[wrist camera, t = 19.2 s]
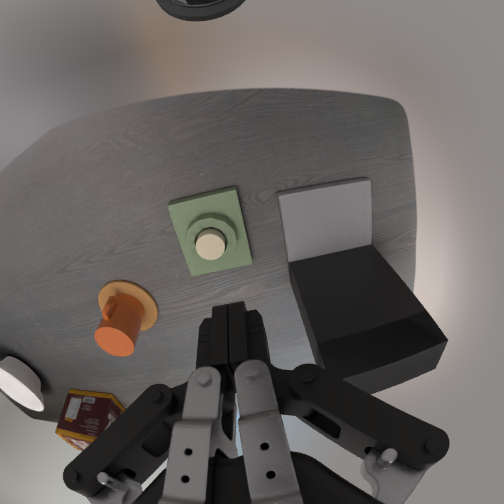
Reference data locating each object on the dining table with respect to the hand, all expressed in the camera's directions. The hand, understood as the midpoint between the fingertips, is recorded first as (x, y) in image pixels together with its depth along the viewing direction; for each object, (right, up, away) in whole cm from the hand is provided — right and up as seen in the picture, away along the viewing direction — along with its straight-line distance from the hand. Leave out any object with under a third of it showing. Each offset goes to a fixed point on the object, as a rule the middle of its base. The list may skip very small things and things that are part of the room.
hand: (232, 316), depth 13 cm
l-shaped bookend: (+12, +6, +26) cm, 29 cm away
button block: (-4, +6, +25) cm, 26 cm away
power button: (-4, +4, +22) cm, 23 cm away
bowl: (-67, -32, +40) cm, 84 cm away
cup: (-20, -6, +29) cm, 36 cm away
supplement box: (-42, -38, +46) cm, 73 cm away
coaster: (-20, -6, +30) cm, 37 cm away
